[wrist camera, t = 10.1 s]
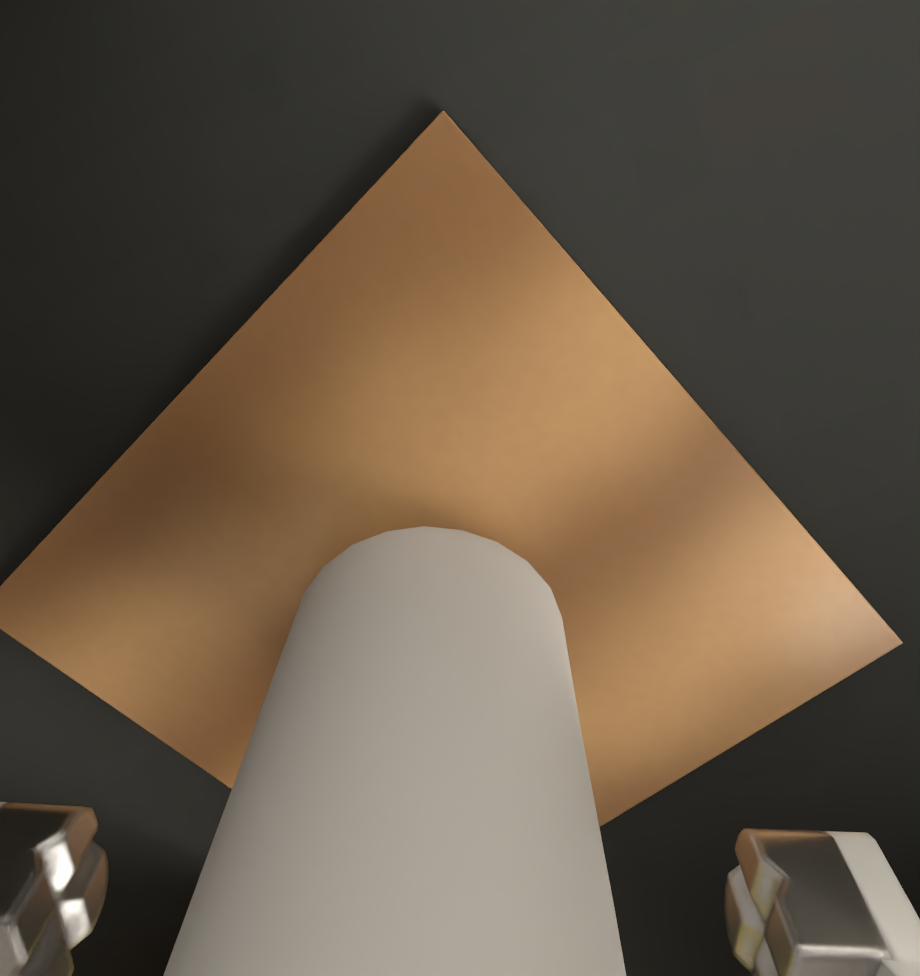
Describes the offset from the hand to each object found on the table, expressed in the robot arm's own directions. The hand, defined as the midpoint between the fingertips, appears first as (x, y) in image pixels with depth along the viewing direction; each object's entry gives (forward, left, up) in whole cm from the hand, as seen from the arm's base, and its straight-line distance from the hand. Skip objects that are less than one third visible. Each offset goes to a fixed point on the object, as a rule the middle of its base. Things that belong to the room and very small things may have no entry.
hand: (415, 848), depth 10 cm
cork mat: (0, 0, -5) cm, 5 cm away
